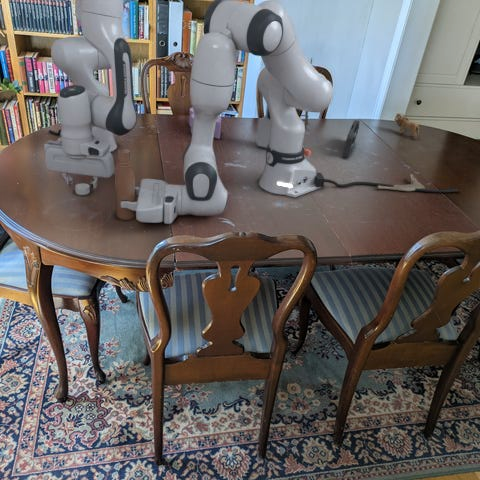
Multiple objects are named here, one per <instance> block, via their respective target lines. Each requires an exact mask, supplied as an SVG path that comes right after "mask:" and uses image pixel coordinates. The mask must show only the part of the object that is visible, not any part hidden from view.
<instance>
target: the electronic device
mask: <svg viewBox="0 0 480 480" xmlns="http://www.w3.org/2000/svg"><path fill="white" fill-rule="evenodd" d="M265 110H266V111H265V114H264V116H263V117H262V118H260V120H259V125H258V128H257V132H256V137H255V146H257V148H261V149H265V150H267V145H268V144H269V139H270V129H271V119H270V113H269V109H268V106H267V105H266V109H265Z"/></svg>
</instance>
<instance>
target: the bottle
mask: <svg viewBox="0 0 480 480" xmlns="http://www.w3.org/2000/svg"><path fill="white" fill-rule="evenodd" d="M117 154H118V160H117V162H116V164H115V166H114V169H115V170H114V188H115V190H114V191H115V192H114V193H115V212H116V217H117V218H118V219H120V220H125V221H126V220H132V219H134V218H136V211H133V210H131V209H128V208H121V200H128V202H132V203H133V202H136V195H135V187H136V170H135V166H134V165H133V162H132V160H131V151H130V150H129V149H127V148H119V149H118V151H117Z"/></svg>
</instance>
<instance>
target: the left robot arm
mask: <svg viewBox="0 0 480 480" xmlns="http://www.w3.org/2000/svg"><path fill="white" fill-rule="evenodd" d="M74 9H75V10H74V14H75V18H76V21H77V22H78V23H79V24H80V26H81V28H80V29H81V33H82V35H79V36H66V37H63V38H60V39H56V40H54V42H53V43H52V45H51V49H50V56H51V60H52V63H53V64H54V65H55V67H56V68H57V69H58V70H59V71H60V72H62V73H64V74H65V75H66V76H67V77H68V78H69V80H70V81H71V83H72V84H71V85H66V86H65V87H63V88H61V89H60V90H59V91H58V95H57V116H58V122H59V124H60V129H59V130H58V131H57V132H55V131H53V130H52V129H49V130H48V132H49V133H50V134H53V135H55V136H59V135H60V137H59V138H57V139H56V140H53V139H49V140H47V141H45V142H44V144H43V148H44V149H43V150H44V153H45V156H44V157H45V158H44V160H45V161H44V162H45V168H46V169H47V170H48V171H50V172H57V173H61V176H62V177H63V178H64V180H65V181H66V186H73V185H74V183H75V182H74V177H73V178H72V177H71V176H70V174H73V175H80V176H81V175H82V176H87V177H88V176H89V177H92V179H93V180H91V182H90V183H89V187H90V189H97V188H98V181H99V179H100V178H106V179H110V178H111V177H112V176H113V175H115V172H114V170H115V161H114V157H113V154H112V152H114V151H115V150H116V149H117V148H118V145H117V142H116V140H115V135H117V136H119V137H120V136H121V137H123V136H125V135H127V134H129V133H130V132H131V131H132V130H133V129H134V128H135V127H136V125H137V122H138V114H137V107H136V104H135V95H134V75H133V58H132V50H131V46H130V44H129V42H128V41H127V40H126V36H125V32H124V25H123V21H124V19H123V18H124V0H75V8H74ZM104 70H105V71H106V70H111V78H112V79H111V80H112V96H113V97H112V96H110V90H109V87H108V86H107V85H106V84H105V83H103V82H102V81H99V80H98V79H96V78H95V76H94V71H104Z"/></svg>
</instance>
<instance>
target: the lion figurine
mask: <svg viewBox="0 0 480 480" xmlns="http://www.w3.org/2000/svg"><path fill="white" fill-rule="evenodd" d="M394 123H395V124H396V125H397V127H399V131H398V132H397V134H399V135H401V134H402V133H403V132H404V130H411V133H412V134H411V135H410V136H411V137H412V139H413V140H416V139H417V137H418V139H420V140H421V139H422V137H421V136H420V127H419V126H420V125H419V124H418V122H417V123H416V122H413V121H410V120H409V119H408V117H407V116H406V115H405V114H403V113H402V112H398V113H396V115H395V117H394ZM414 137H416V138H414Z"/></svg>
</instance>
